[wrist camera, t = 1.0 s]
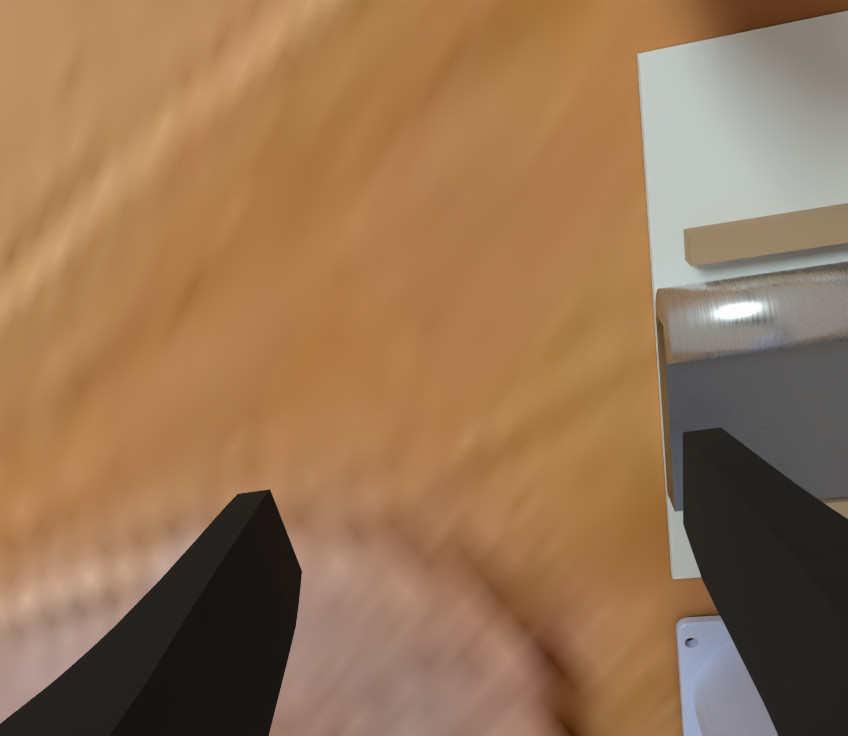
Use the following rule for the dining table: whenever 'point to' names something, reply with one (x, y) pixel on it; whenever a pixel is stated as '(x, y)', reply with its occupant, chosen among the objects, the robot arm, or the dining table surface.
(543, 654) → the dining table surface
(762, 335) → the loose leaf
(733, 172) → the hinge jig
